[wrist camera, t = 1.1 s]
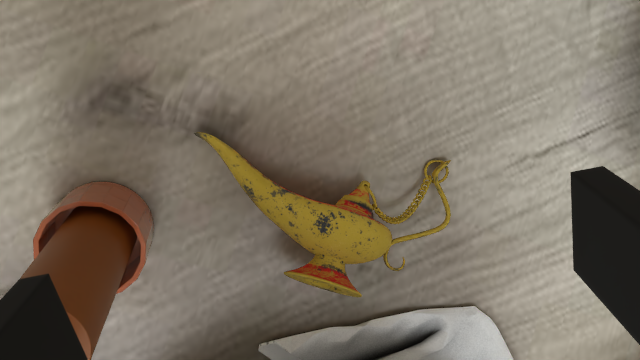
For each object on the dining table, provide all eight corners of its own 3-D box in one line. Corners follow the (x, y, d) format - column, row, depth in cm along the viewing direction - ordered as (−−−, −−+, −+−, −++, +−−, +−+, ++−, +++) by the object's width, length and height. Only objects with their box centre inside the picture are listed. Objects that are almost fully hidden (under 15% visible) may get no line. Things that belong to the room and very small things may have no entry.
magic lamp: (158, 238, 35) (214, 91, 38) (406, 316, 38) (440, 174, 41) (152, 225, 29) (220, 49, 32) (452, 321, 32) (488, 151, 34)
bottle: (50, 228, 34) (-97, 408, 18) (102, 184, 34) (-1, 329, 18) (102, 274, 35) (7, 477, 20) (152, 232, 35) (96, 405, 20)
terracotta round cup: (32, 223, 34) (8, 248, 31) (105, 161, 34) (90, 180, 30) (104, 286, 36) (90, 317, 33) (173, 229, 36) (167, 254, 32)
